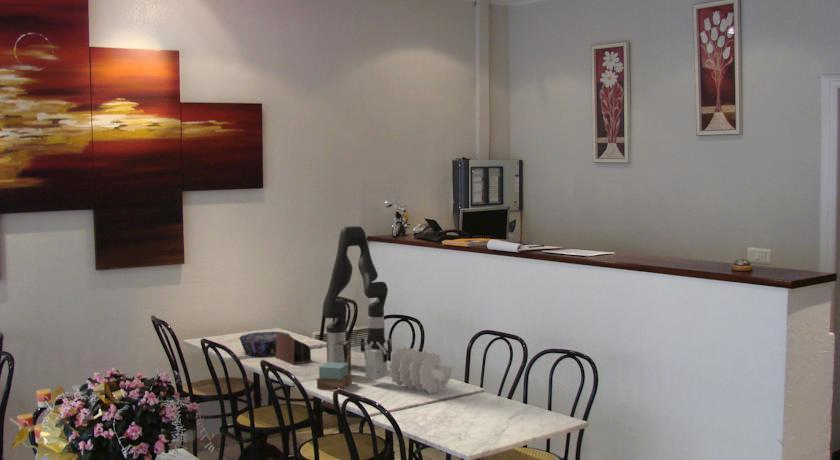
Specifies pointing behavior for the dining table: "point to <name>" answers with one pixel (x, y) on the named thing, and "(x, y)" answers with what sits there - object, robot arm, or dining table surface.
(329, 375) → the tower top block
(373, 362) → the small box
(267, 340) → the decorative bowl
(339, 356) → the coffee box
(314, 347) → the dining table surface
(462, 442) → the dining table surface
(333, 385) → the tower bottom block
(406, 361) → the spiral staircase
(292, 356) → the letter holder
